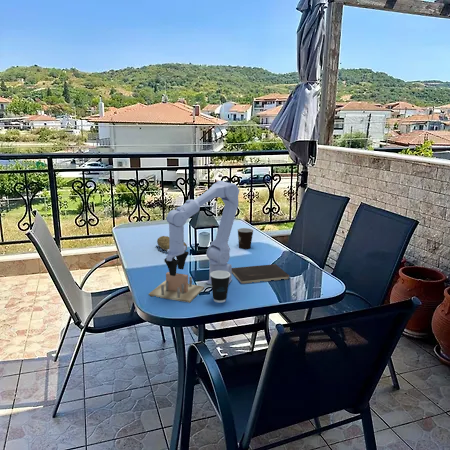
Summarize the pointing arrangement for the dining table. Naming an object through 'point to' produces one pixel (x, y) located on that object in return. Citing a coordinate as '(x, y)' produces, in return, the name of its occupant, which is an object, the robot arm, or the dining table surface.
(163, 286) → the dish rack
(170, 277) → the brown rectangular block
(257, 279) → the hardcover book
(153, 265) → the dining table surface
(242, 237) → the coffee mug
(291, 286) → the dining table surface
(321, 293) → the dining table surface
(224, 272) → the dixie cup
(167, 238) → the sponge
